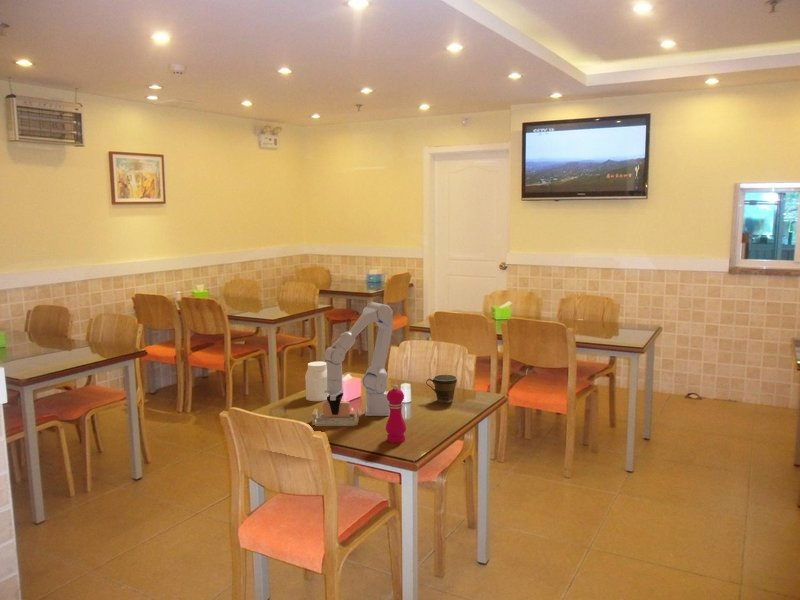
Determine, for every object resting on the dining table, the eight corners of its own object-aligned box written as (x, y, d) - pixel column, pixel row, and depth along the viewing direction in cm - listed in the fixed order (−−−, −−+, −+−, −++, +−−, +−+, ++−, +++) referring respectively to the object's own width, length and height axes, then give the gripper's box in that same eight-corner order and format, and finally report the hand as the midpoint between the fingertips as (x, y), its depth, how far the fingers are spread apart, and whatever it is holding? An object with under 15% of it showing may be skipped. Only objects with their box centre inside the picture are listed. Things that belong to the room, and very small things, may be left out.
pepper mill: (406, 436, 233) (405, 382, 230) (406, 443, 226) (405, 387, 223) (386, 436, 233) (385, 382, 230) (385, 443, 226) (384, 387, 223)
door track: (359, 418, 253) (358, 407, 252) (357, 425, 245) (357, 414, 244) (315, 419, 253) (315, 408, 252) (312, 426, 245) (311, 414, 244)
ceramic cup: (457, 397, 279) (457, 374, 277) (456, 404, 269) (456, 381, 268) (427, 396, 280) (426, 374, 279) (425, 404, 270) (425, 380, 269)
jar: (327, 401, 276) (326, 367, 274) (304, 401, 276) (303, 367, 274) (331, 393, 287) (330, 360, 285) (310, 393, 288) (309, 360, 286)
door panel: (350, 418, 250) (349, 401, 249) (349, 420, 247) (349, 403, 246) (324, 419, 250) (323, 401, 249) (323, 421, 248) (322, 403, 247)
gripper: (326, 373, 254) (327, 407, 256) (321, 384, 239) (322, 419, 241) (344, 373, 253) (345, 407, 255) (340, 383, 239) (341, 419, 241)
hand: (335, 413), depth 248 cm, fingers closed on door panel, 2 cm apart
